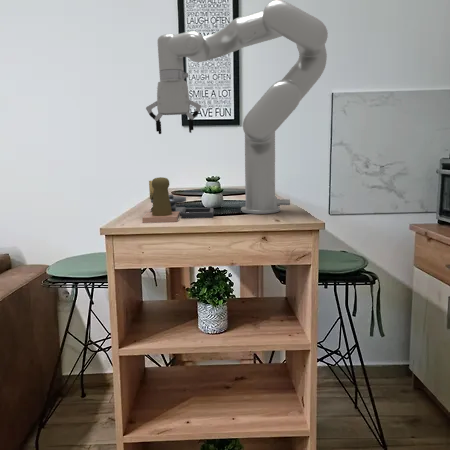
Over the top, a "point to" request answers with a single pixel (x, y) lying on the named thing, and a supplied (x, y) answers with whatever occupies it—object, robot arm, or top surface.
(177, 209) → the hub
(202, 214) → the collar
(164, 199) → the cork
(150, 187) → the handwheel
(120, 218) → the top surface
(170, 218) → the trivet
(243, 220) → the top surface
